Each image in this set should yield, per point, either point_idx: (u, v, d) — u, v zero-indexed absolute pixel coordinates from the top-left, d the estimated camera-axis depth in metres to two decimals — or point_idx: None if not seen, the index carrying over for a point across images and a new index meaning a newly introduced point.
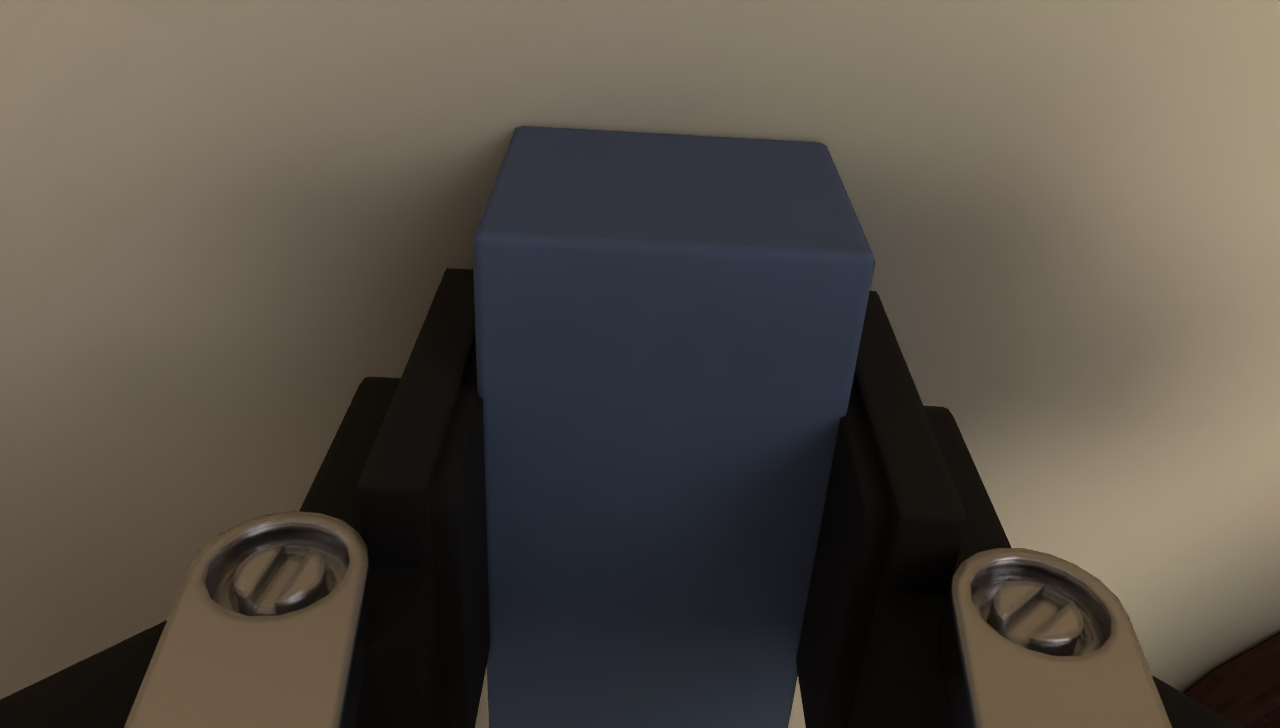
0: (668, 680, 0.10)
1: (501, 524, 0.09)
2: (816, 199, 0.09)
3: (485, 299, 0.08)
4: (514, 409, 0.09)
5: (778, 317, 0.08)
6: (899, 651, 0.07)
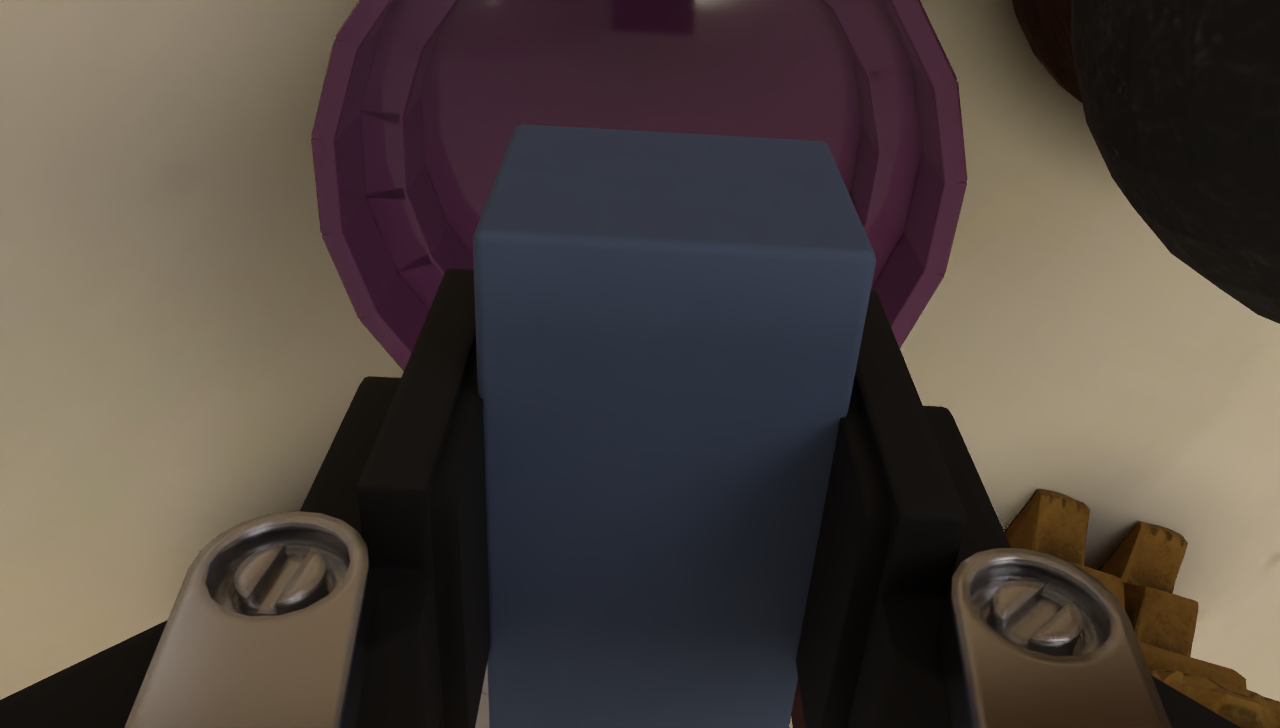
0: (668, 679, 0.10)
1: (501, 523, 0.09)
2: (818, 197, 0.09)
3: (486, 297, 0.08)
4: (515, 408, 0.09)
5: (781, 315, 0.08)
6: (898, 650, 0.07)
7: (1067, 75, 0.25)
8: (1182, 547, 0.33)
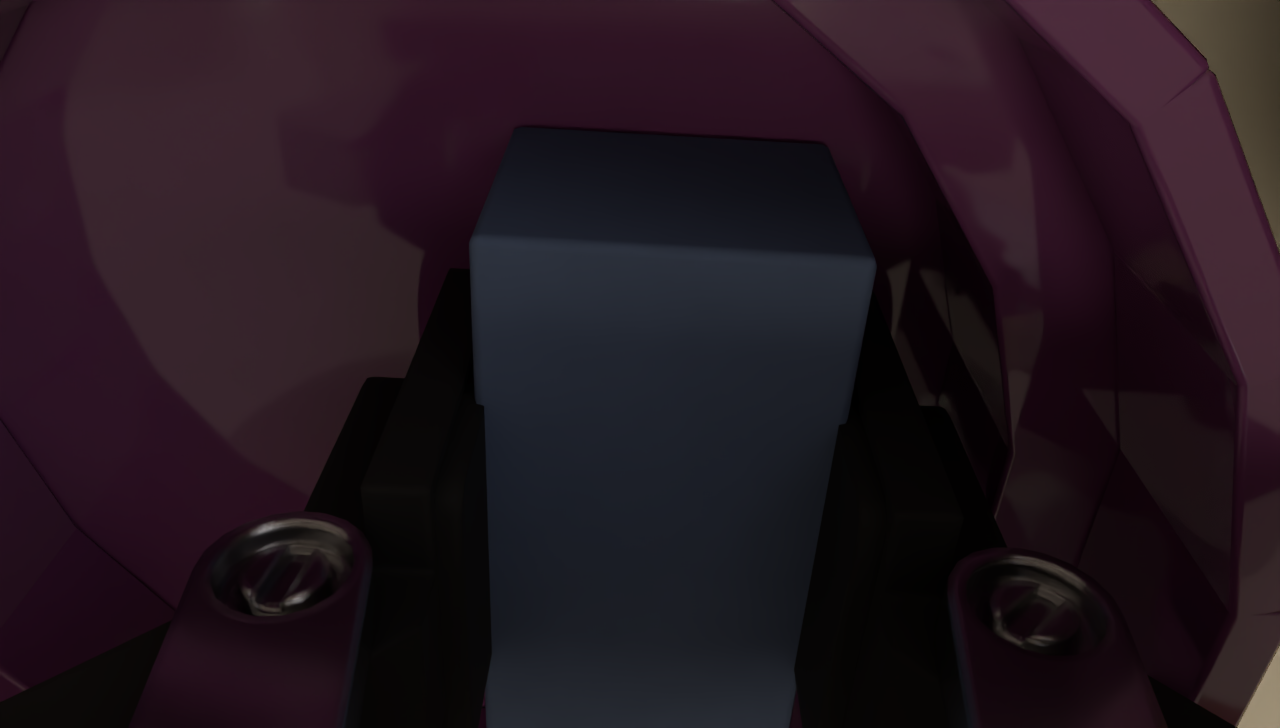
0: (667, 687, 0.10)
1: (498, 529, 0.09)
2: (819, 203, 0.09)
3: (482, 303, 0.08)
4: (511, 413, 0.09)
5: (779, 322, 0.08)
6: (894, 650, 0.07)
7: None
8: None
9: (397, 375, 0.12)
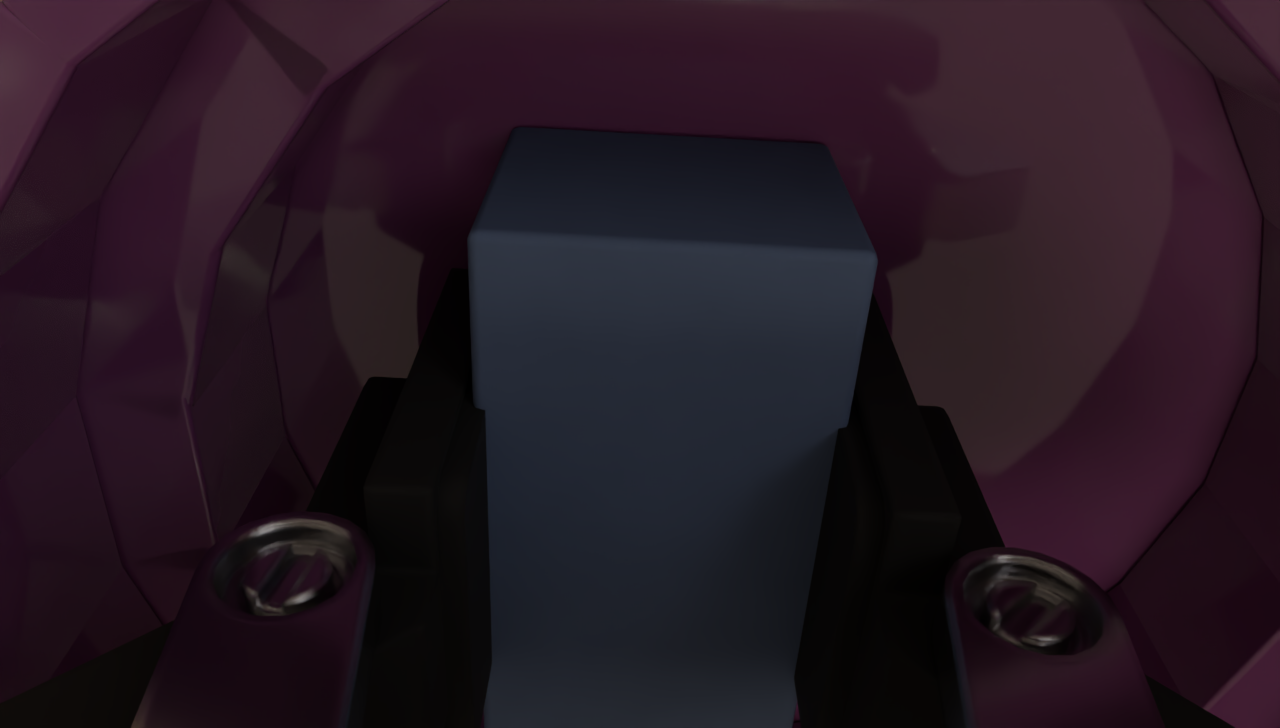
0: (667, 691, 0.10)
1: (496, 530, 0.09)
2: (818, 199, 0.09)
3: (480, 298, 0.08)
4: (509, 411, 0.09)
5: (781, 318, 0.08)
6: (892, 649, 0.07)
7: None
8: None
9: None
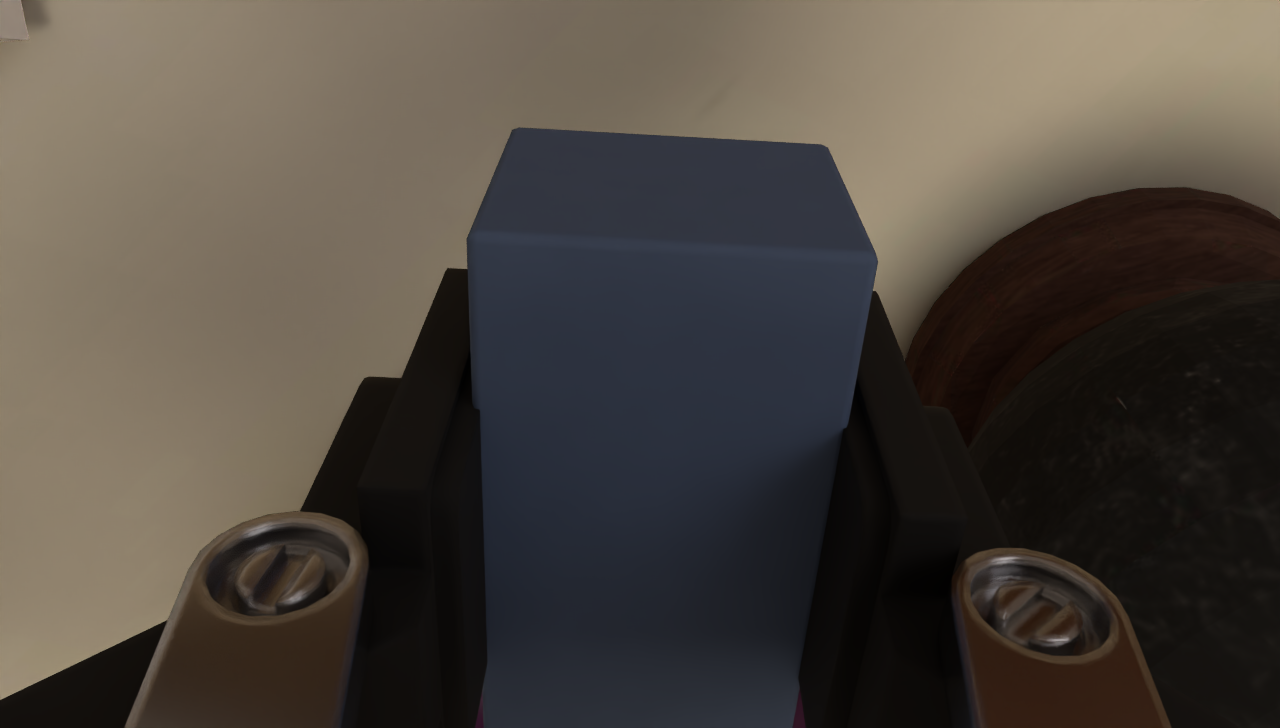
0: (667, 693, 0.10)
1: (496, 531, 0.09)
2: (817, 200, 0.09)
3: (480, 299, 0.08)
4: (509, 411, 0.09)
5: (779, 318, 0.08)
6: (899, 650, 0.07)
7: None
8: None
9: None
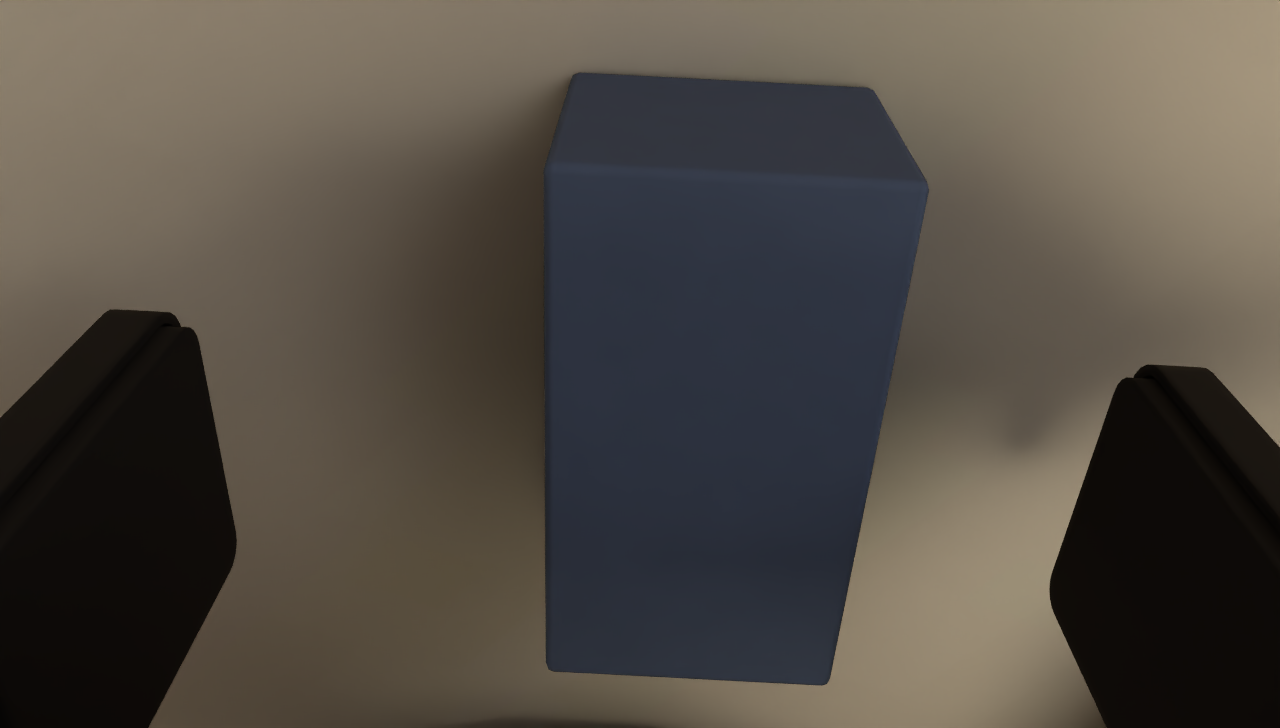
0: (720, 608, 0.11)
1: (563, 451, 0.10)
2: (869, 135, 0.09)
3: (555, 227, 0.09)
4: (578, 337, 0.09)
5: (836, 244, 0.09)
6: None
7: None
8: None
9: None
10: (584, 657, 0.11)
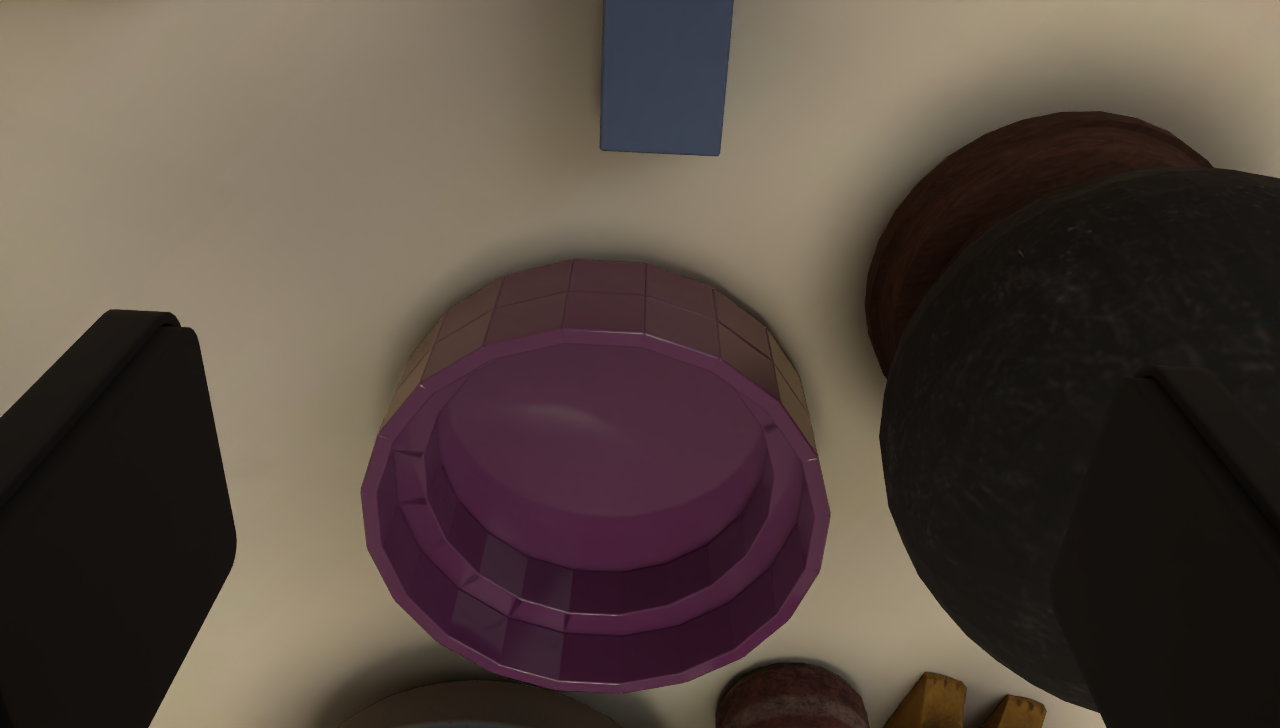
0: (672, 112, 0.26)
1: (610, 31, 0.25)
2: None
3: None
4: None
5: None
6: None
7: None
8: (1042, 715, 0.41)
9: (580, 447, 0.35)
10: (616, 141, 0.27)
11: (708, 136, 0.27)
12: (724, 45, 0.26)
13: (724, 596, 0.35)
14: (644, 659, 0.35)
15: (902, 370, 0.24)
